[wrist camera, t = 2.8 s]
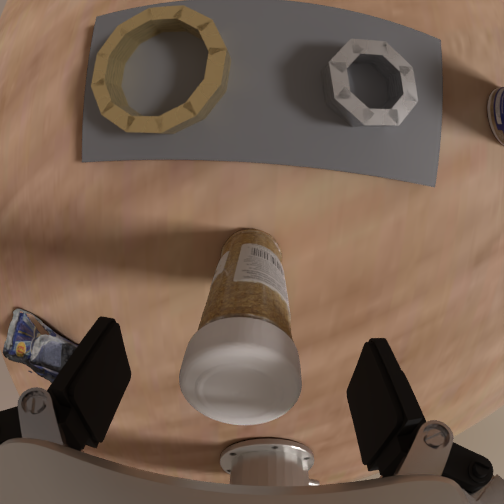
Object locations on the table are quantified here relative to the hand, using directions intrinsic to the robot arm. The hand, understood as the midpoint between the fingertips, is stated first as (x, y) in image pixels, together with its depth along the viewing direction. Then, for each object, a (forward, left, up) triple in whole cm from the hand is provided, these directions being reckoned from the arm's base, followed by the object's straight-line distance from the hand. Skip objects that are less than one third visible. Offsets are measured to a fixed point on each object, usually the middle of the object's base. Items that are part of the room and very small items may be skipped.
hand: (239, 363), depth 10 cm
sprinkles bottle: (0, +1, -13) cm, 13 cm away
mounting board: (+7, -10, -12) cm, 18 cm away
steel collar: (+1, -14, -11) cm, 18 cm away
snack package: (+10, +23, -13) cm, 28 cm away
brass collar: (+12, -7, -11) cm, 18 cm away
